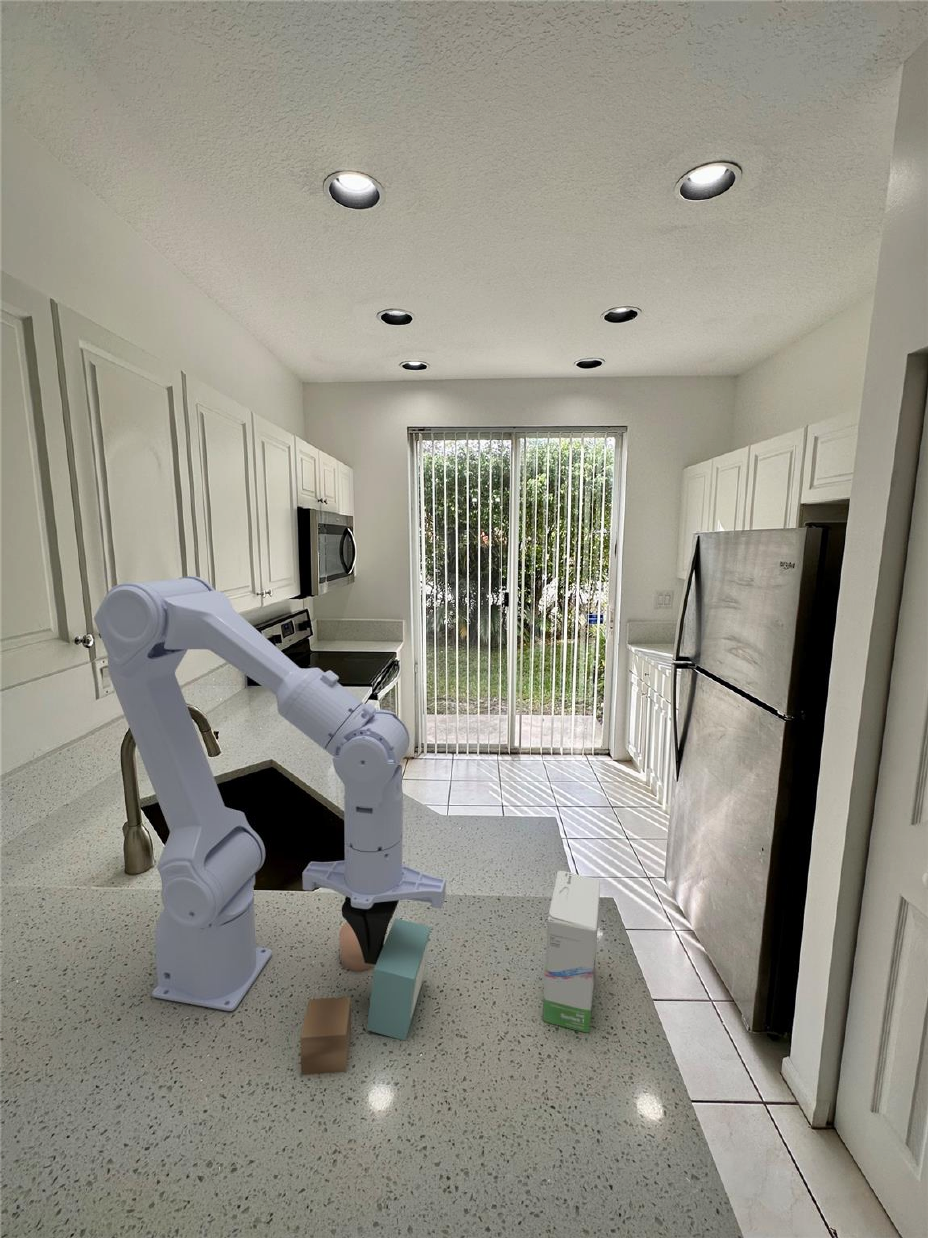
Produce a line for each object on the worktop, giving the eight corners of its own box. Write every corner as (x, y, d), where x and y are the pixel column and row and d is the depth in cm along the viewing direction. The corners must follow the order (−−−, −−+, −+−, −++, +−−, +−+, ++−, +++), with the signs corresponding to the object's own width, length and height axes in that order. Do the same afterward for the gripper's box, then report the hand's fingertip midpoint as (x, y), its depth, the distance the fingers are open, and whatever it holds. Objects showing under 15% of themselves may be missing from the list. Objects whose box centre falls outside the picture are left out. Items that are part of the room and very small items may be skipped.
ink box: (590, 1036, 53) (598, 930, 51) (540, 1021, 54) (546, 918, 52) (594, 970, 61) (601, 876, 59) (551, 959, 62) (556, 867, 60)
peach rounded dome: (333, 968, 60) (332, 944, 60) (348, 936, 65) (348, 914, 64) (375, 974, 59) (375, 950, 59) (388, 941, 64) (388, 919, 64)
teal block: (365, 1029, 52) (373, 968, 51) (387, 973, 59) (394, 917, 58) (406, 1041, 52) (415, 979, 50) (423, 982, 58) (431, 927, 57)
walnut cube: (301, 1076, 48) (300, 1038, 47) (309, 1035, 52) (308, 999, 51) (346, 1072, 48) (345, 1034, 48) (350, 1032, 52) (350, 997, 52)
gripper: (286, 850, 50) (289, 976, 52) (436, 869, 48) (433, 1000, 50) (318, 812, 57) (320, 925, 59) (450, 827, 55) (447, 944, 57)
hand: (373, 956), depth 55 cm, fingers closed
